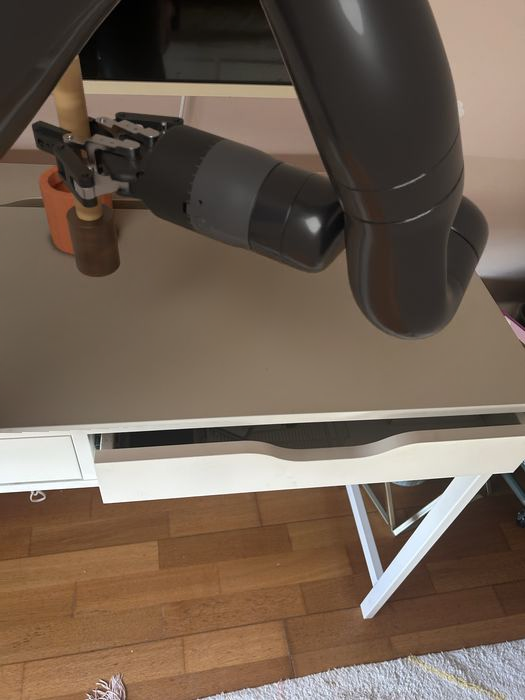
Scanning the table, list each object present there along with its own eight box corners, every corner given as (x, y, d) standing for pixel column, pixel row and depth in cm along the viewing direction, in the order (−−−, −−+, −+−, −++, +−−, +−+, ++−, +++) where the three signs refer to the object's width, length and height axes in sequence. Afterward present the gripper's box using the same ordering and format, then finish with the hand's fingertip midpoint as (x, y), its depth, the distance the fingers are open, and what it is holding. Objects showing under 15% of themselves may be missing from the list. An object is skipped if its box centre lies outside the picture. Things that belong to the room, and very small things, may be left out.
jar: (64, 261, 80) (50, 203, 73) (44, 227, 85) (30, 169, 78) (125, 245, 84) (118, 188, 77) (103, 214, 89) (95, 157, 82)
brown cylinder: (85, 282, 53) (41, 69, 39) (70, 257, 56) (24, 49, 41) (126, 270, 55) (100, 62, 41) (111, 247, 57) (80, 43, 43)
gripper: (265, 111, 43) (96, 58, 48) (165, 183, 34) (-30, 110, 39) (258, 194, 49) (107, 139, 53) (169, 274, 40) (-2, 200, 45)
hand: (49, 127), depth 46 cm, fingers closed on brown cylinder, 2 cm apart
